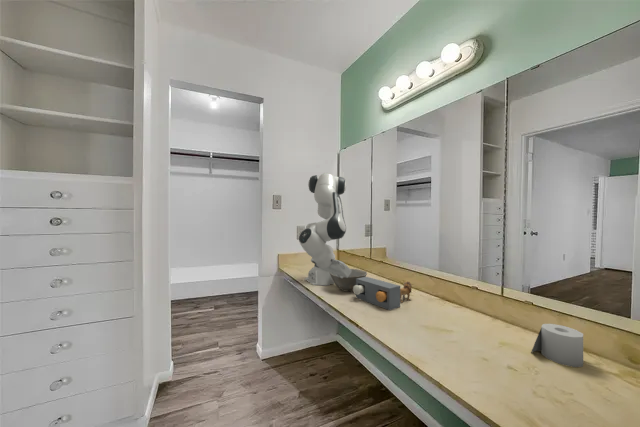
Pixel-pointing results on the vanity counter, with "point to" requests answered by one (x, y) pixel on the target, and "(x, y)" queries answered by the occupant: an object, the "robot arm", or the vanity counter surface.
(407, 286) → the lion figurine
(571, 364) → the toilet tissue
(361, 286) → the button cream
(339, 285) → the ceramic bowl
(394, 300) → the control box
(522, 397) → the vanity counter surface
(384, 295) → the button orange
